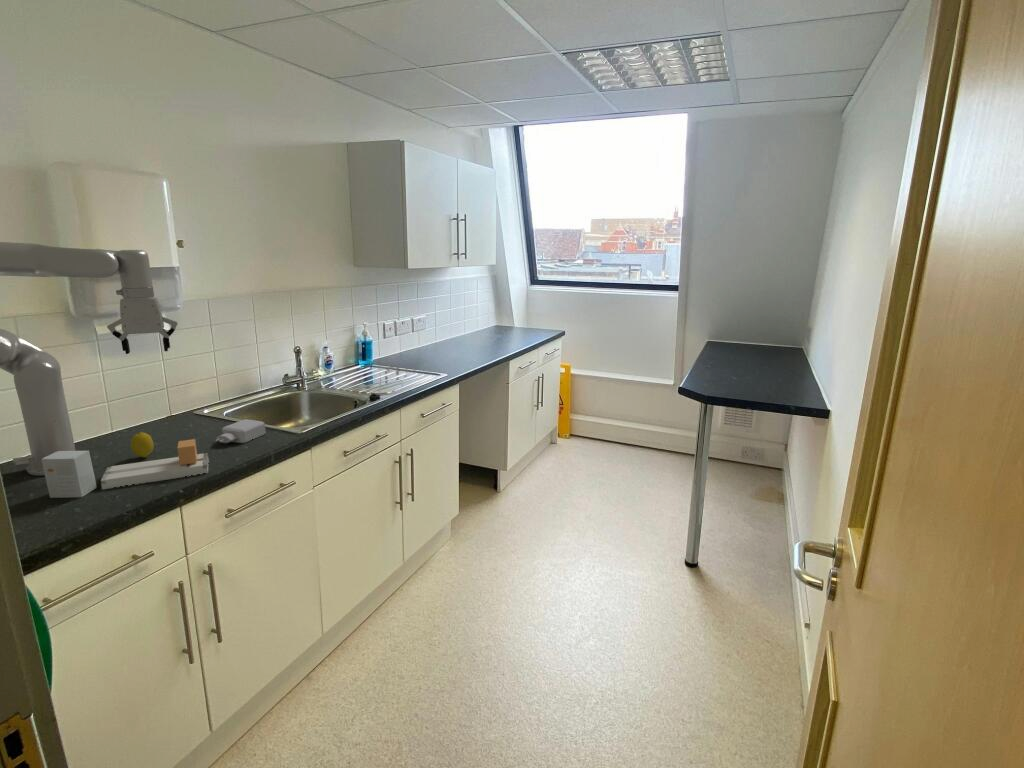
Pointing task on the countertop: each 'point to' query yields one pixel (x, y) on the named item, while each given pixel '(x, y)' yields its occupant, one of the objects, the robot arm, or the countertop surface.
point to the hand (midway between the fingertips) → (147, 351)
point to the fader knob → (187, 452)
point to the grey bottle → (242, 431)
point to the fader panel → (152, 471)
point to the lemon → (142, 444)
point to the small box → (69, 474)
